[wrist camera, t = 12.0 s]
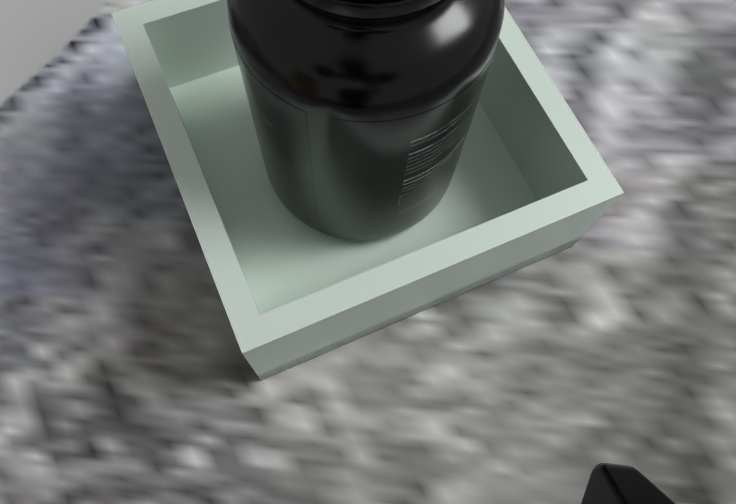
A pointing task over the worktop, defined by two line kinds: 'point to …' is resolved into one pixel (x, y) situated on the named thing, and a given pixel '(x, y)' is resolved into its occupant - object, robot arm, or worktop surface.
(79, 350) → the worktop surface
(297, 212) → the supplement bottle
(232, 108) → the box
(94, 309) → the worktop surface
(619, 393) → the worktop surface
